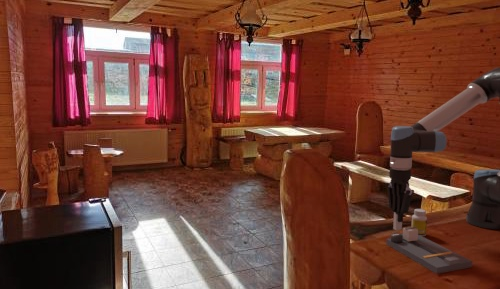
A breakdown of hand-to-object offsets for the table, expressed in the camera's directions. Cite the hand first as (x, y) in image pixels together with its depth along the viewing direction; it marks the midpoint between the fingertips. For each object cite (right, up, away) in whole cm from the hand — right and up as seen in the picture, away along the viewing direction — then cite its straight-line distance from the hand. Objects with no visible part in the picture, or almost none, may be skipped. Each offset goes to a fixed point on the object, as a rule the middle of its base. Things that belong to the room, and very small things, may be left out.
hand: (397, 229), depth 143 cm
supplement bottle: (+10, -3, +5) cm, 12 cm away
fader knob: (+2, -2, -6) cm, 7 cm away
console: (+5, -6, -13) cm, 15 cm away
